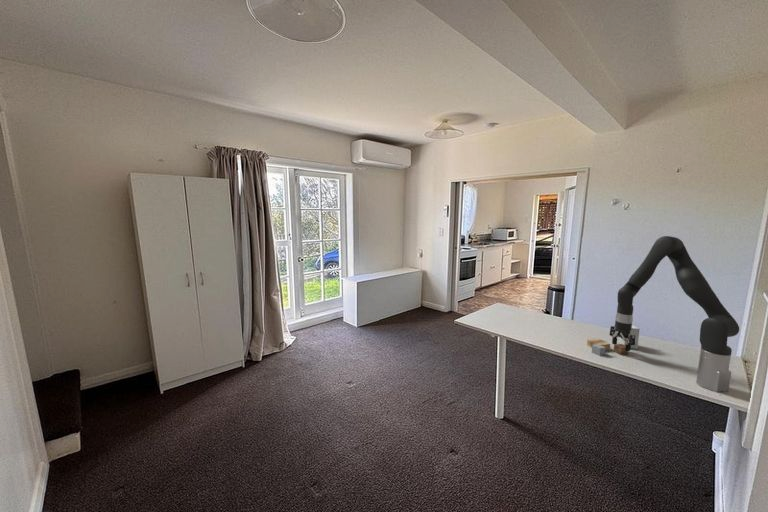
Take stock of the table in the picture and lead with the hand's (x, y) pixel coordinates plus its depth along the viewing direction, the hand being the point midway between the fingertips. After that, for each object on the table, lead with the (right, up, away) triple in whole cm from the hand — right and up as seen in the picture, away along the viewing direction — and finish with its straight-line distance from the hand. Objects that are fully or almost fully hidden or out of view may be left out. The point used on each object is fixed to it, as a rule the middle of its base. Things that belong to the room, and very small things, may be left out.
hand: (620, 347), depth 171 cm
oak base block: (-8, -3, +7) cm, 11 cm away
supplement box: (+11, -2, +9) cm, 14 cm away
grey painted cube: (-13, -4, 0) cm, 14 cm away
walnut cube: (0, -3, 0) cm, 3 cm away
